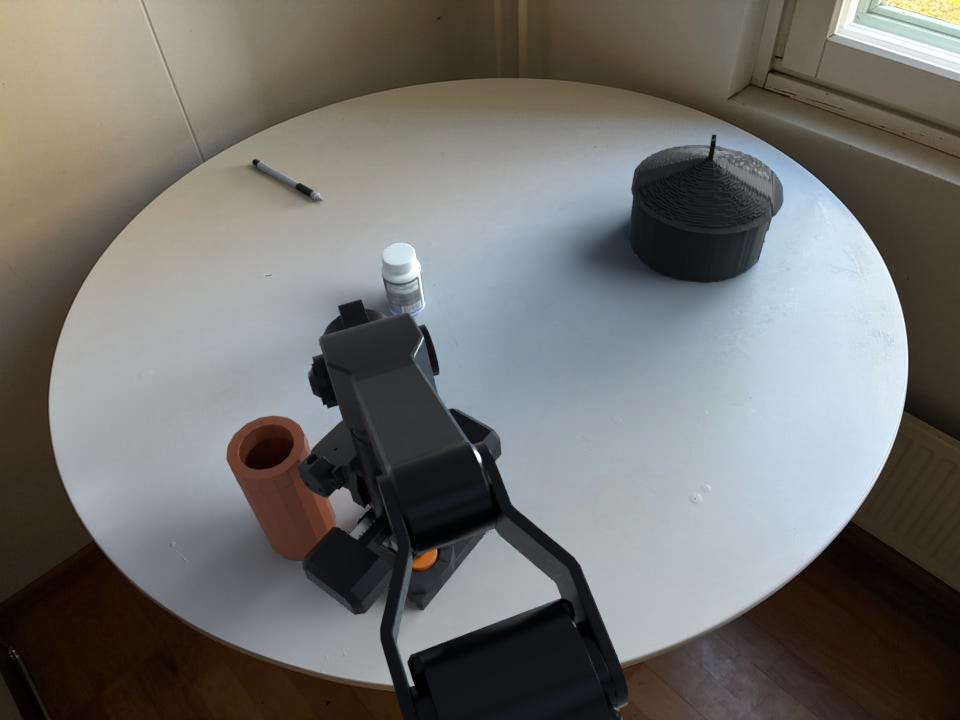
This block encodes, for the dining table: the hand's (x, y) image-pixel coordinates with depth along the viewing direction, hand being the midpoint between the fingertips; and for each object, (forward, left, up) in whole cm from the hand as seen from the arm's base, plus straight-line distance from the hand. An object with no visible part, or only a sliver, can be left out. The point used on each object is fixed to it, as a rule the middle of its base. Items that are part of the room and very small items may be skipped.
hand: (419, 551), depth 69 cm
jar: (-4, +13, -4) cm, 13 cm away
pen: (+36, +57, -4) cm, 67 cm away
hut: (+57, +1, -4) cm, 58 cm away
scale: (+3, +3, -4) cm, 6 cm away
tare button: (0, 0, -2) cm, 2 cm away
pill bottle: (+26, +25, -4) cm, 36 cm away
